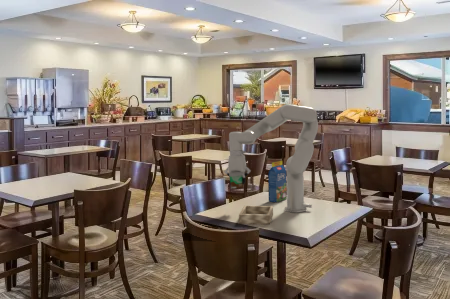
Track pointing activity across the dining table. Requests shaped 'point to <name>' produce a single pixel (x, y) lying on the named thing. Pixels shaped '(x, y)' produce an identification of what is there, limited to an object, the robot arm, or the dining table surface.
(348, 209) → the dining table surface
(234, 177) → the food container
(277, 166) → the blue food package
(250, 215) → the birch box
